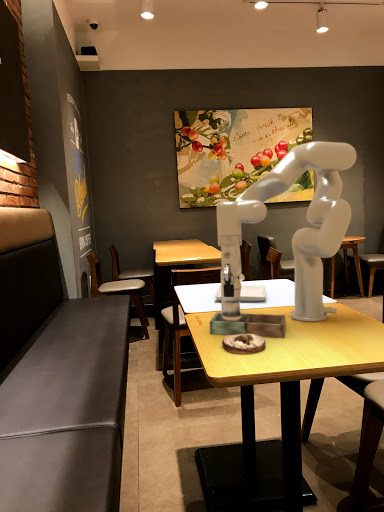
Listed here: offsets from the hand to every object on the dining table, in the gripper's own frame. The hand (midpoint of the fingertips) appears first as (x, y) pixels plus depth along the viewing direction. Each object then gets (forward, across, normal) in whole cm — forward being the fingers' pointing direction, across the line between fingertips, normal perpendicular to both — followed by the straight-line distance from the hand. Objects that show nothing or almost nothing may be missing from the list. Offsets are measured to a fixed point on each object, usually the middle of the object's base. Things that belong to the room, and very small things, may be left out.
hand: (231, 293), depth 129 cm
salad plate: (+13, +45, +4) cm, 47 cm away
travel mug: (+12, +18, +4) cm, 22 cm away
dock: (+12, 0, -5) cm, 13 cm away
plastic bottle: (+12, 0, 0) cm, 12 cm away
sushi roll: (+13, -15, -6) cm, 20 cm away
